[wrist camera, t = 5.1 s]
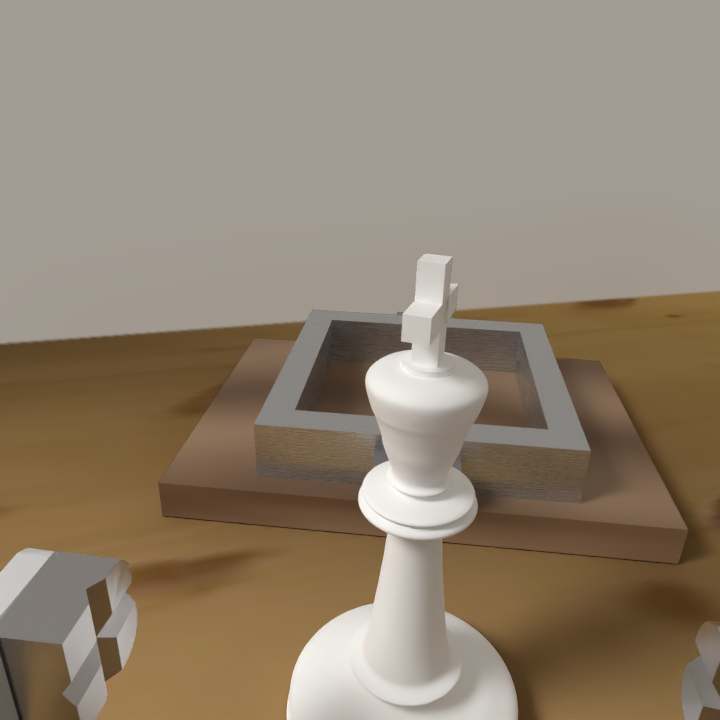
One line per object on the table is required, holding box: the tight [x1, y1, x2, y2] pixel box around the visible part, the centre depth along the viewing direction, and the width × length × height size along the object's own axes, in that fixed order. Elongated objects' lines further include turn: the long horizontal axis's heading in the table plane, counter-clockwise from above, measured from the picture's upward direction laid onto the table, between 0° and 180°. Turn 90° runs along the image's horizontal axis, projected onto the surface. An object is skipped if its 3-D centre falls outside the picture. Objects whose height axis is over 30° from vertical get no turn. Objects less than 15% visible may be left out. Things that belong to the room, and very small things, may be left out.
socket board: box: [158, 338, 688, 564], centre depth 24 cm, size 11×15×1 cm
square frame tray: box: [254, 310, 591, 504], centre depth 23 cm, size 12×10×2 cm
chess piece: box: [287, 254, 518, 720], centre depth 12 cm, size 5×5×10 cm
